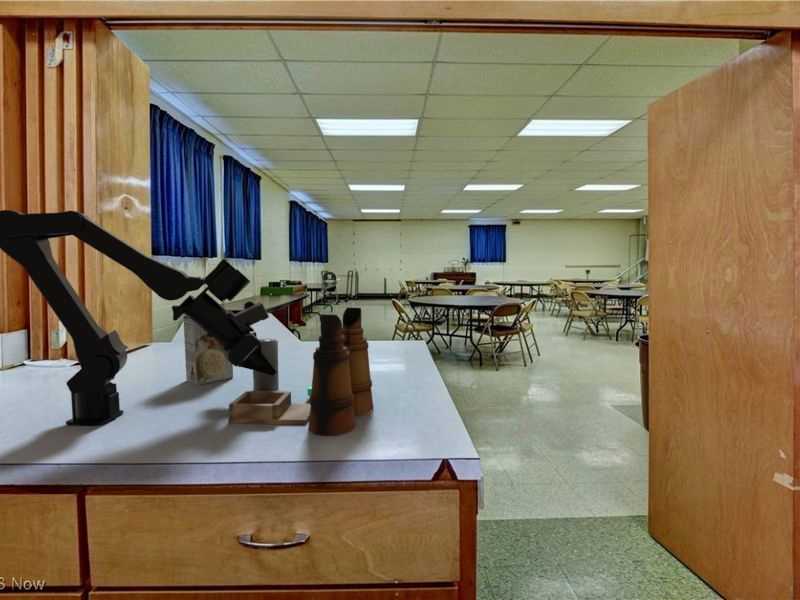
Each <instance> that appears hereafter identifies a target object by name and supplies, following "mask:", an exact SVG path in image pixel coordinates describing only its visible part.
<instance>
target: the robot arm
mask: <svg viewBox="0 0 800 600" xmlns="http://www.w3.org/2000/svg"><path fill="white" fill-rule="evenodd" d="M68 236H74V237H75V238H76V239H78V240H80V241H82V242H83V243H85V244H87V245H88V246H90V247H91V248H93V249H95V250H96V251H98V252H99V253H101V254H103V255H104V256H106V257H108V258H109V259H111V260H112V261H114V262H116V263H117V264H119V265H120V266H121V267H124V268H125V269H126V270H129V271H130V272H132V273H133V274H134V275H135V276H136V277H138V278H139V280H141V281H142V282H143V284H144V285H146V287H147V288H149V289H150V290H151V291H153V292H154V293H155V294H156V295H157V296H158V297H160V298H161V299H162V300H165V301H171V302H172V301H177V300H180V299H182V298H183V297H184V296H186V295H187V294H188V292H190V293H191V292H194V291H198V290H199V289H200V288H202V287H203V286H204V285H206V287H205V288H204V289H203V290H202V291H201V292H199V294H198V295H197V296H193V295H191V294H190V295H188V296H187V297H186V298H184V300H183V301H182V302H181V303H180V304H178V305H177V304H174V305H172V306H171V311H172V320H173V321H178V320H179V318H181V317H182V315H183V316H187V317H188V318H189V319H190V320H192V321H193V322H194V323H195V324H196V325H198V326H199V327H200V328H201V329H203V330H204V331H205V332H206V335H207V336H209V337H210V338H211V337H212V338H213V339H215V340H216V341H217V342H218V343H219V344H221V345H222V346H223V349H224V350H225V351H228V361H229V362H231V363H232V364H233V366H234V367H235V368H236V367H238V368H245V369H248V370H250V371H251V370H252V371H253V370H255V371H258V372H262V373H265V374H269V375H272V376H273V375H274V374H275V373H276V372H277V371H276V370H275V369H274V367H273V366H272V365H271V364H270V362H269V361H268V360H267V359H266V357H265V356H264V355H263V354H262V352H261V341H260V340H259V339H260V338H258V336H257V333H256V331H255V329H254V328H253V327H252V325H254V324H256V323H259V322H261V321H265V320H267V319H269V318H270V316H269V312H268V311H267V310H266V308H265V305H264V303H263V302H261V301H260V302H256V303H255V302H253V301H252V300H249V301H246V302H244V303H243V309H241V310H240V311H239V312H237V313H234V312H233V311H231V310H228V309H226V308H225V307H223V306H222V305H221V304H220V303H218V302H217V300H215V299H214V298H213V297H212V296H210V294H208V293H207V292H209V293H211V294H212V295H213V296H214V297H215V298H216V299H218V300H219V301H220V302H221V303H224V302H225V301H226V300H227V301H229V302H232V301H233V300H234V298H236V297H237V296H238V295H239V294H240V293H242V291H243V290H244V289H245V288H246V287H247V286H248V285H249V284H250V283H251V281H250V279H249V278H248V277H246V275H244V274H243V273H242V272H241V271H239V269H237V268H235V267H234V266H233V265H232V264H231V263H230V262H228V261H227V260H226V259H225V258H223V259H222V260H220V262H218V264H217V265H216V266H215V267H214V269H213V270H211V271H210V272H209V273H208V274H207V275H206V276H205V277H201V276H200V275H199V276H197V277H196V276H189V275H188V274H187V273H186V272H185V271H183V270H181V269H178V268H176V267H173V266H172V265H169V264H166V263H165V262H162V261H160V260H157V259H154V258H152V257H150V256H148V255H146V254H145V253H143V252H142V251H140V250H138V249H136V248H135V247H134V246H132V245H131V244H129V243H128V242H126V241H124V240H123V239H121V238H120V237H118V236H117V235H115V234H113V233H112V232H111V231H109V230H108V229H106V228H104V227H102V226H101V225H99V224H98V223H96V222H94V221H93V220H92V219H90V217H89V216H88V215H86V214H84V213H81V212H79V211H75V210H66V211H61V212H60V211H59V212H42V213H41V212H40V213H33V212H32V213H22V212H19V211H14V210H10V209H9V210H7V209H2V210H0V250H1V251H2V252H3V253H4V254H6V255H7V256H8V257H10V258H11V259H12V260H13V261H14V262H16V263H18V264H19V265H20V266H21V267H22V268H23V269H24V270H25V272H26V273H27V275H28V277H29V278H30V279H31V280H32V282H33V283H34V285H35V287H36V288H37V289H38V291H39V292H40V294H41V295H42V297H43V298H44V299H45V301H46V302H47V304H48V305H49V307H50V308H51V310H52V311H53V312H54V313H53V314H55V316H56V317H57V318H58V320H59V321H60V323H61V324H62V326H63V327H64V329H65V330H66V332H67V333H68V335H69V336H70V337H71V340H72V342H73V347H74V354H75V357H76V359H77V362H78V365H79V366H80V369H78V371H77V372H76V373H75V374H74V375H73V376H71V377H70V378H69V380H67V381H66V385H67V389H68V390H69V392H70V395H71V396H70V397H71V398H70V399H71V413H72V416H71V417H72V418H70V419H68V420H66V421H65V425H76V424H82V425H85V426H86V425H87V426H88V425H89V426H90V425H91V426H94V425H95V426H98V425H99V426H100V425H103V424H105V423H106V422H109V421H110V420H113V419H115V418H116V417H119V416H120V415H122V414H124V410H123V409H122V410H121V409H120V408H121V406H120V393H119V391H117V387H118V386H117V383H114V382H111V381H113V380H114V379H115V377H116V375H117V374H119V372H120V371H122V370H123V368H124V366H125V365H126V364H127V361H128V353H127V351H126V350H127V349H128V347H129V346H127V345H126V344H124V343H123V342H122V340H121V338H120V336H119V333H118V332H117V330H116V329H114V330H112V331H110V332H109V333H108V332H107V331H105V330H104V329H103V328H101V326H99V325H98V323H97V321H96V320H95V319H94V317H93V316H92V314H91V313H90V310H88V308H87V307H86V305H85V304H84V302H83V300H81V298H80V296H79V295H78V293H77V292H76V290H75V289H74V287H73V285H71V284H72V283H70V281H69V280H68V278H67V276H66V275H65V274H64V273H63V271H62V269H61V268H60V266H59V264H58V263H57V262H56V260H55V258H54V257H53V252H52V247H51V241H50V239H56V238H63V237H68Z"/></svg>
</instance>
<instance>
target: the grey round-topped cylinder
mask: <svg viewBox="0 0 800 600" xmlns="http://www.w3.org/2000/svg"><path fill="white" fill-rule="evenodd" d="M258 339H259V340H260V341H261V352H262V354H263V355H264V356H265V357H266V359H267V360H268V361H269V362H270V364H271V365H272V366H273V367H274V369H275V370H276V371H277V372H276V373H275V374H274V375H273V376H272V375H269V374H265V373H262V372H258V371H255V370H252V375H253V376H252V379H253V382H252V385H253V387H252V388H253V390H252V391H280V387H279V341H278V339H277V340H276V338H258Z"/></svg>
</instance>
